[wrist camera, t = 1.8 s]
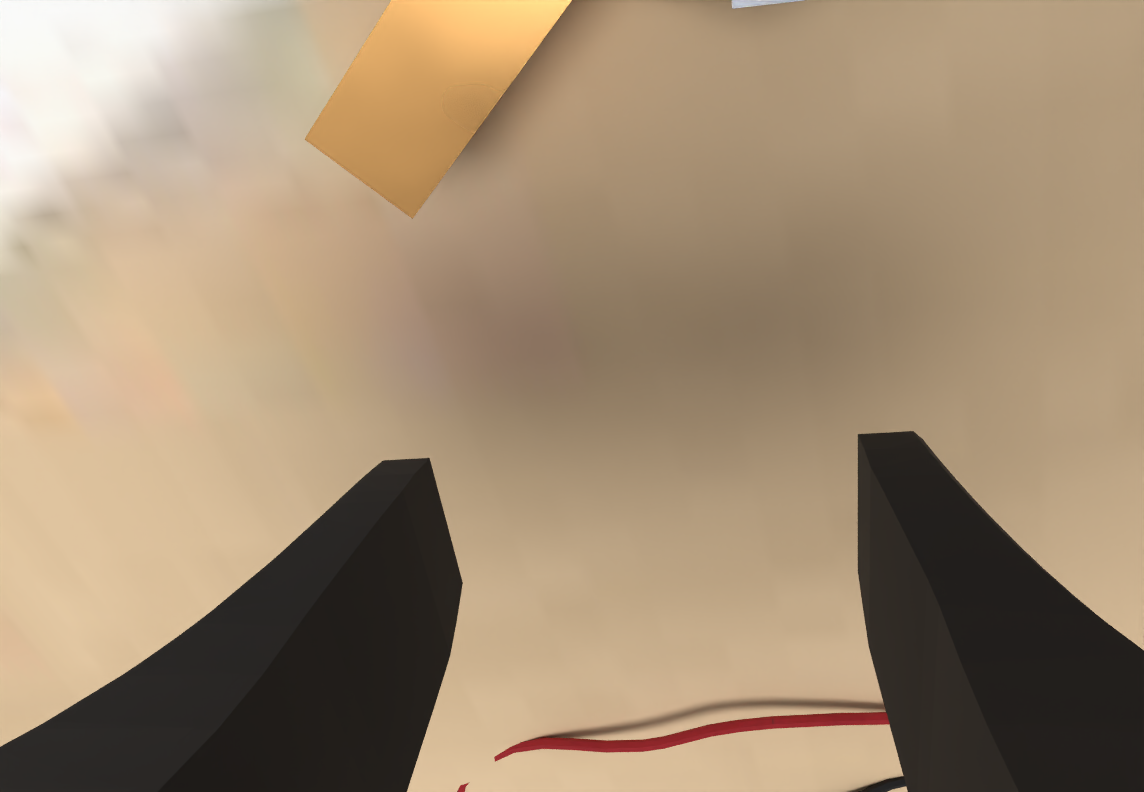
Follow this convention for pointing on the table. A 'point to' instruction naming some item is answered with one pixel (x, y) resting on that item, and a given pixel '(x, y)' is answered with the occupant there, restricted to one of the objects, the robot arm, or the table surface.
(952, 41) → the table surface
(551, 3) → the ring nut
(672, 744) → the digital clamp meter
